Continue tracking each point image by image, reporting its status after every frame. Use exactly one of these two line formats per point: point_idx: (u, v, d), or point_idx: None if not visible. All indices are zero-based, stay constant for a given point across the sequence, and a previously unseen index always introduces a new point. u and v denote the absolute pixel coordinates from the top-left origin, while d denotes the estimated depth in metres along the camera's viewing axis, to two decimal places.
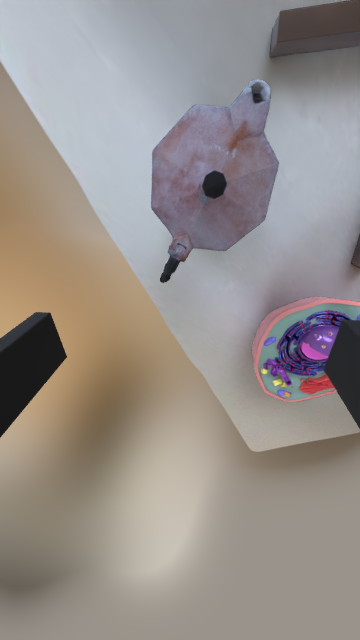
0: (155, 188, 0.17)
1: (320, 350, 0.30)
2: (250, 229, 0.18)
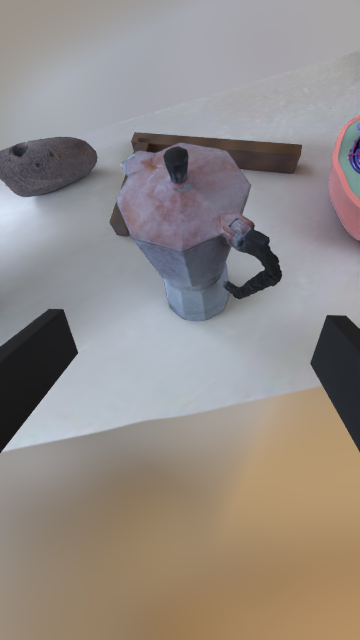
0: (164, 240, 0.15)
1: None
2: (232, 160, 0.16)
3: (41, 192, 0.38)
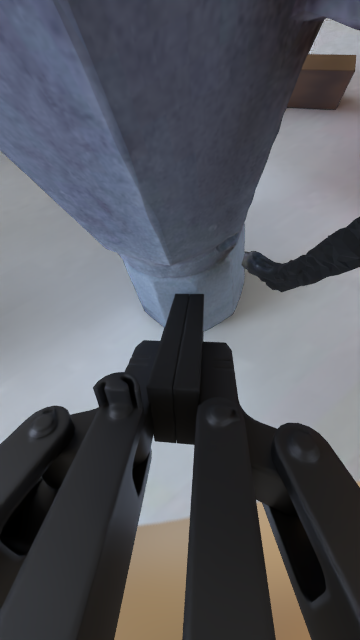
0: None
1: None
2: None
3: None
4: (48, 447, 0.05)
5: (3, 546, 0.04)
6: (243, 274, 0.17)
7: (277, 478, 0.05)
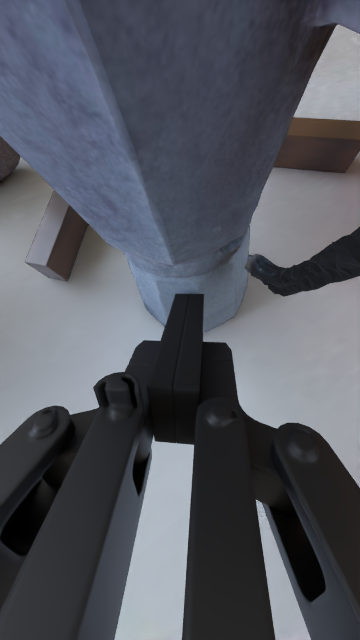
0: None
1: None
2: None
3: None
4: (48, 447, 0.05)
5: (3, 546, 0.04)
6: (246, 277, 0.17)
7: (277, 477, 0.05)
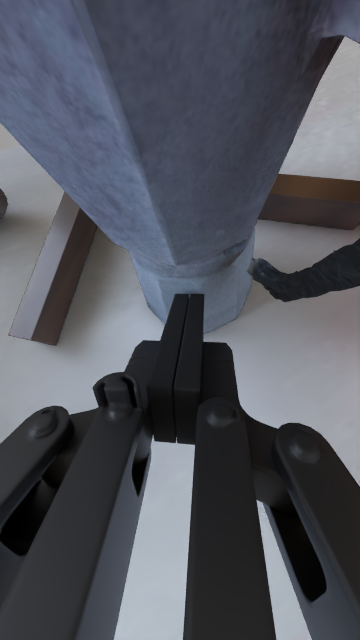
0: None
1: None
2: None
3: None
4: (48, 447, 0.05)
5: (3, 546, 0.04)
6: (250, 280, 0.17)
7: (278, 478, 0.05)
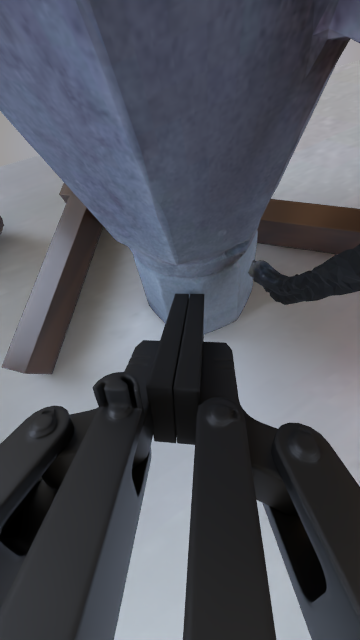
0: None
1: None
2: None
3: None
4: (48, 447, 0.05)
5: (3, 546, 0.04)
6: (251, 282, 0.17)
7: (278, 477, 0.05)
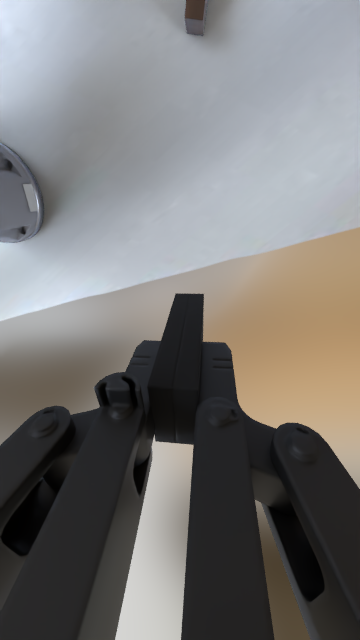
0: None
1: None
2: None
3: None
4: (49, 447, 0.05)
5: (4, 546, 0.04)
6: None
7: (277, 478, 0.05)
